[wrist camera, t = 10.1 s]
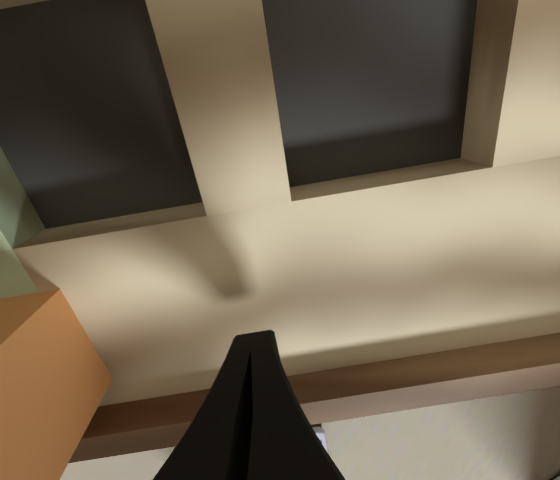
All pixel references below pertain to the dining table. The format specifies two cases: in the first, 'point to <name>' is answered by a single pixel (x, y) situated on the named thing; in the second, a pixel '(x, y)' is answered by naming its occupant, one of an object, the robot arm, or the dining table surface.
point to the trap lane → (287, 197)
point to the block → (44, 385)
